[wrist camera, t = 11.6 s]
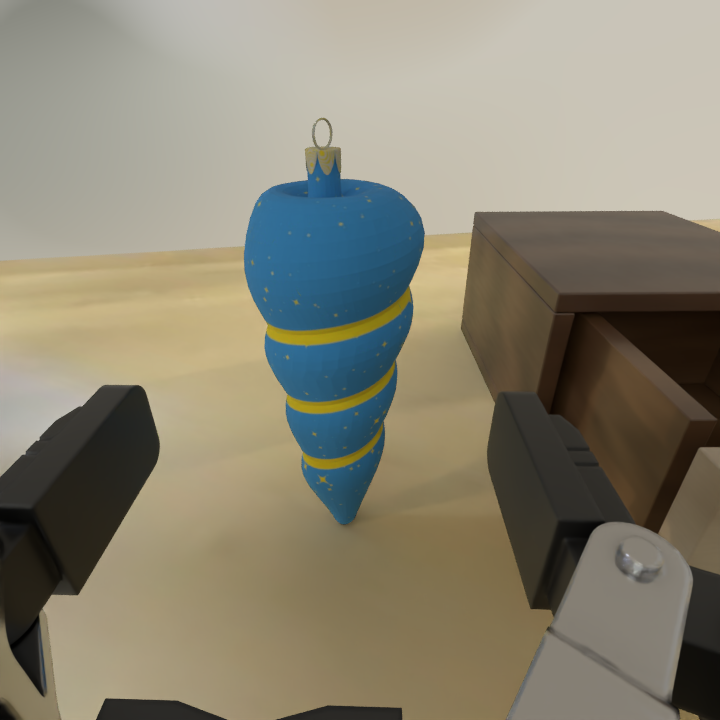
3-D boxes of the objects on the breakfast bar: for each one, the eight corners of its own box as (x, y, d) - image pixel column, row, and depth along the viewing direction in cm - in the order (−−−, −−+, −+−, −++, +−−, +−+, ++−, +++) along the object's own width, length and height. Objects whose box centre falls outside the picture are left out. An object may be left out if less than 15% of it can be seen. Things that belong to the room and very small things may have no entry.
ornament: (426, 510, 20) (465, 116, 12) (357, 605, 16) (351, 125, 9) (332, 463, 22) (315, 113, 15) (253, 535, 19) (179, 119, 11)
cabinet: (779, 458, 22) (880, 290, 18) (520, 461, 22) (559, 293, 18) (625, 327, 35) (662, 210, 31) (460, 328, 35) (474, 211, 31)
